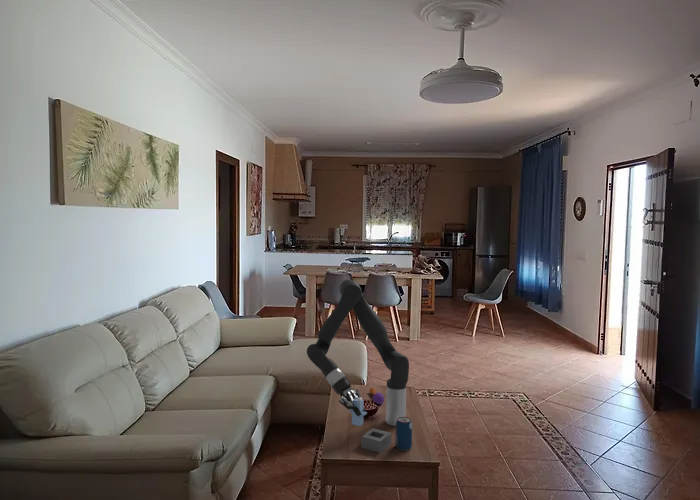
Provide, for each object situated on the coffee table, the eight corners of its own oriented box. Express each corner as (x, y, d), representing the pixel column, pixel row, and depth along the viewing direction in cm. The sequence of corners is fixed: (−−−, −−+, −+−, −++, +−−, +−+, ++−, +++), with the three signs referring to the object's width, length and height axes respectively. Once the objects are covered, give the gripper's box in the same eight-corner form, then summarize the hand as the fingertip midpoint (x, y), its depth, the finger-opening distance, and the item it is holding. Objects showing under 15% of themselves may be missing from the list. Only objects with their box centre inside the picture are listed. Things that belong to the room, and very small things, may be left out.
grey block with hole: (372, 439, 213) (372, 428, 213) (391, 444, 208) (391, 433, 208) (361, 447, 204) (361, 436, 204) (380, 453, 200) (380, 441, 199)
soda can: (415, 447, 205) (415, 419, 205) (404, 452, 200) (405, 424, 200) (402, 442, 210) (403, 414, 210) (391, 447, 205) (392, 419, 205)
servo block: (348, 423, 213) (348, 397, 212) (351, 420, 215) (352, 395, 215) (363, 427, 209) (363, 400, 208) (367, 424, 211) (367, 398, 211)
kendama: (378, 385, 273) (386, 395, 253) (376, 396, 273) (384, 406, 253) (368, 384, 272) (375, 393, 253) (366, 394, 272) (373, 405, 252)
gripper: (334, 380, 209) (359, 414, 203) (351, 372, 221) (375, 403, 215) (324, 390, 212) (348, 424, 206) (341, 381, 224) (364, 413, 218)
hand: (361, 413), depth 211 cm, fingers closed on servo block, 3 cm apart
